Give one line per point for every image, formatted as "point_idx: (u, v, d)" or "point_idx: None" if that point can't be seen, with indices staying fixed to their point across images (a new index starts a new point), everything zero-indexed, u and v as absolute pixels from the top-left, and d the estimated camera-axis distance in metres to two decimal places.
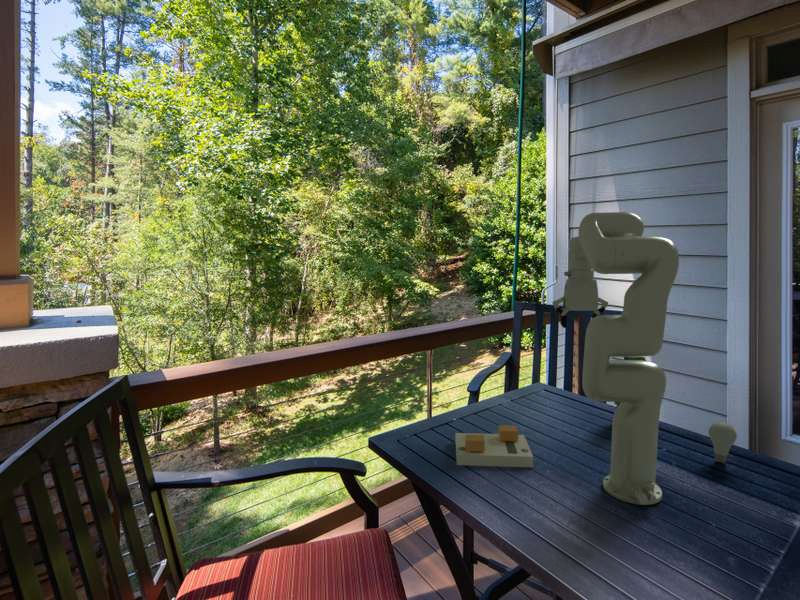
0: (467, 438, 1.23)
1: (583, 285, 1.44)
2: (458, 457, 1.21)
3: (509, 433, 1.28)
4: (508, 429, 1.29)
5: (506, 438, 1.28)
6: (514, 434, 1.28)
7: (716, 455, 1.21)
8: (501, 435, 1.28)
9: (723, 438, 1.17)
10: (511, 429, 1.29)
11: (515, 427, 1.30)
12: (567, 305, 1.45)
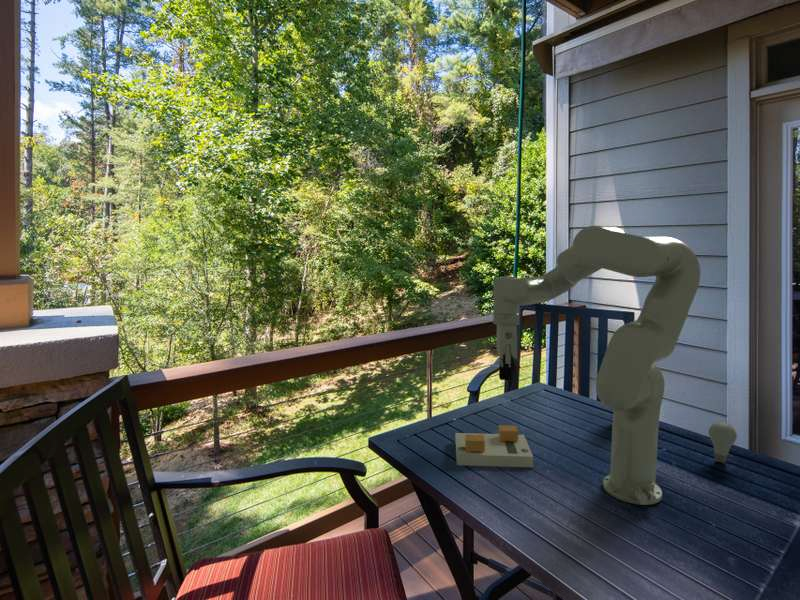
0: (467, 438, 1.23)
1: None
2: (458, 457, 1.21)
3: (509, 433, 1.28)
4: (508, 429, 1.29)
5: (506, 438, 1.28)
6: (514, 434, 1.28)
7: (716, 455, 1.21)
8: (501, 435, 1.28)
9: (723, 438, 1.17)
10: (511, 429, 1.29)
11: (515, 427, 1.30)
12: (516, 354, 1.30)
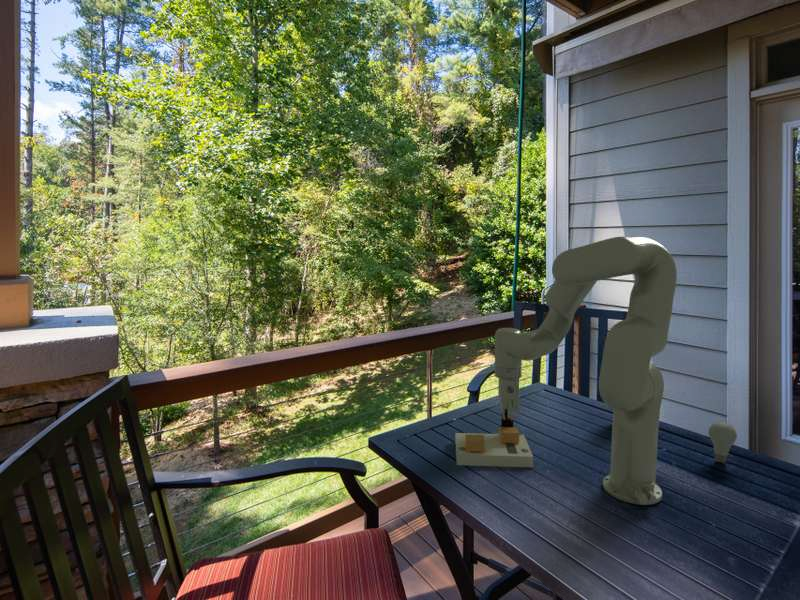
0: (467, 438, 1.23)
1: None
2: (458, 457, 1.21)
3: (510, 435, 1.27)
4: (509, 431, 1.28)
5: (507, 440, 1.27)
6: (515, 436, 1.27)
7: (716, 455, 1.21)
8: (502, 437, 1.27)
9: (723, 438, 1.17)
10: (512, 431, 1.27)
11: (516, 429, 1.29)
12: None
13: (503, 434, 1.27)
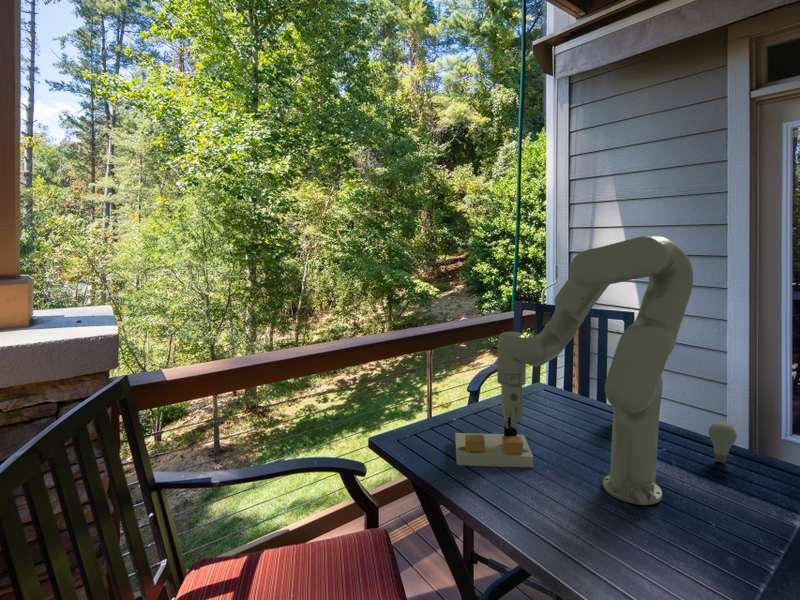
0: (467, 438, 1.23)
1: None
2: (458, 457, 1.21)
3: (514, 445, 1.21)
4: (512, 440, 1.22)
5: (510, 450, 1.21)
6: (519, 446, 1.20)
7: (716, 455, 1.21)
8: (505, 447, 1.21)
9: (723, 438, 1.17)
10: (515, 440, 1.21)
11: (519, 438, 1.23)
12: None
13: (506, 444, 1.21)
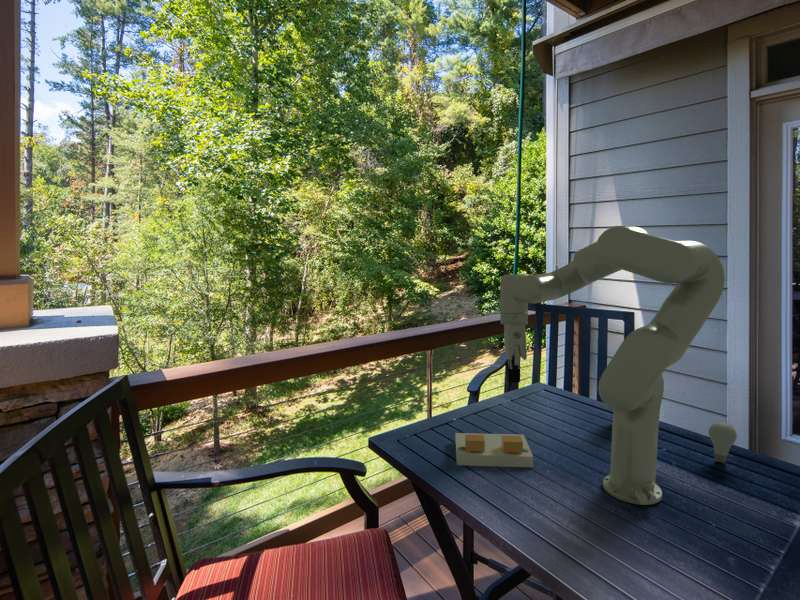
0: (467, 438, 1.23)
1: None
2: (458, 457, 1.21)
3: (513, 444, 1.21)
4: (512, 439, 1.22)
5: (510, 449, 1.21)
6: (518, 445, 1.21)
7: (716, 455, 1.21)
8: (504, 446, 1.21)
9: (723, 438, 1.17)
10: (515, 440, 1.22)
11: (519, 437, 1.23)
12: (526, 355, 1.24)
13: (506, 443, 1.21)
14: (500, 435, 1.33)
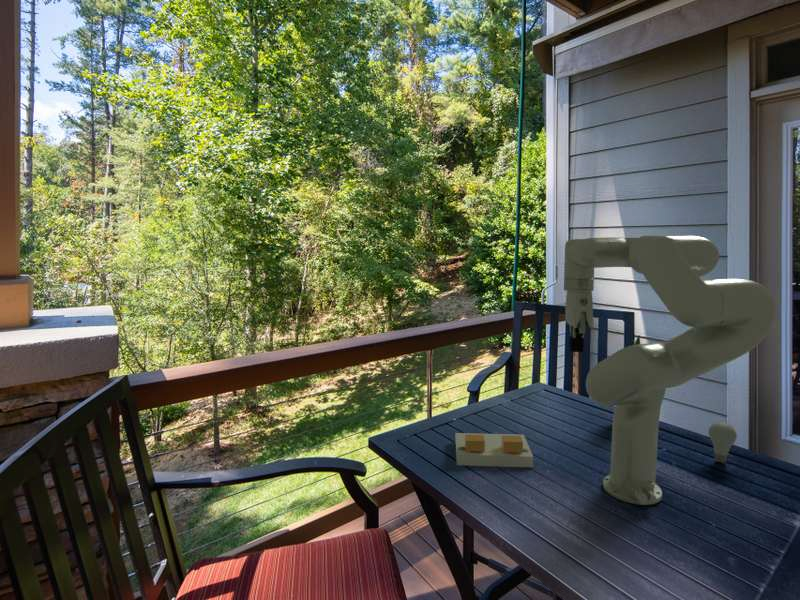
0: (467, 438, 1.23)
1: None
2: (458, 457, 1.21)
3: (513, 444, 1.21)
4: (512, 439, 1.22)
5: (510, 449, 1.21)
6: (518, 445, 1.21)
7: (716, 455, 1.21)
8: (504, 446, 1.21)
9: (723, 438, 1.17)
10: (515, 440, 1.22)
11: (519, 437, 1.23)
12: (592, 322, 1.19)
13: (506, 443, 1.21)
14: (500, 435, 1.33)
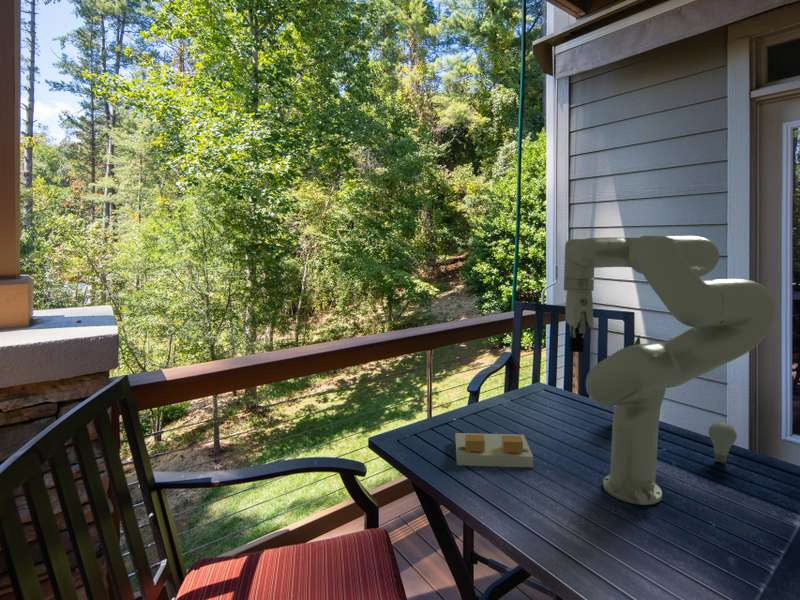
0: (467, 438, 1.23)
1: None
2: (458, 457, 1.21)
3: (513, 444, 1.21)
4: (512, 439, 1.22)
5: (510, 449, 1.21)
6: (518, 445, 1.21)
7: (716, 455, 1.21)
8: (504, 446, 1.21)
9: (723, 438, 1.17)
10: (515, 440, 1.22)
11: (519, 437, 1.23)
12: (592, 322, 1.19)
13: (506, 443, 1.21)
14: (500, 435, 1.33)
